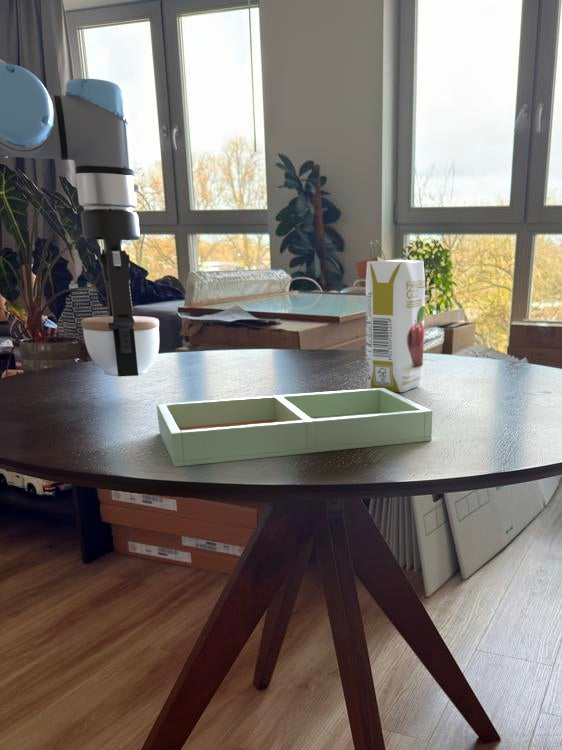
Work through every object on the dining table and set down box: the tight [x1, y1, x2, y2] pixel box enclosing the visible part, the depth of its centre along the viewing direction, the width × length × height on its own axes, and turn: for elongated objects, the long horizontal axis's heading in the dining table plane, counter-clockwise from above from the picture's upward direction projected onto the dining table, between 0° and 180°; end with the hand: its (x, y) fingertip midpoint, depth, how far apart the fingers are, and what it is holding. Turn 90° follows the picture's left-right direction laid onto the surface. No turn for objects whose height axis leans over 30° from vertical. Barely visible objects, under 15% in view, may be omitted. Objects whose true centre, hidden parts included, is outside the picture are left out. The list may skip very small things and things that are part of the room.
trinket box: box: [80, 315, 160, 377], centre depth 106 cm, size 11×11×9 cm
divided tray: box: [156, 388, 433, 468], centre depth 85 cm, size 29×15×4 cm, turn 112°
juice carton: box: [365, 259, 426, 393], centre depth 111 cm, size 8×9×19 cm
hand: (125, 369), depth 108 cm, fingers closed on trinket box, 11 cm apart
